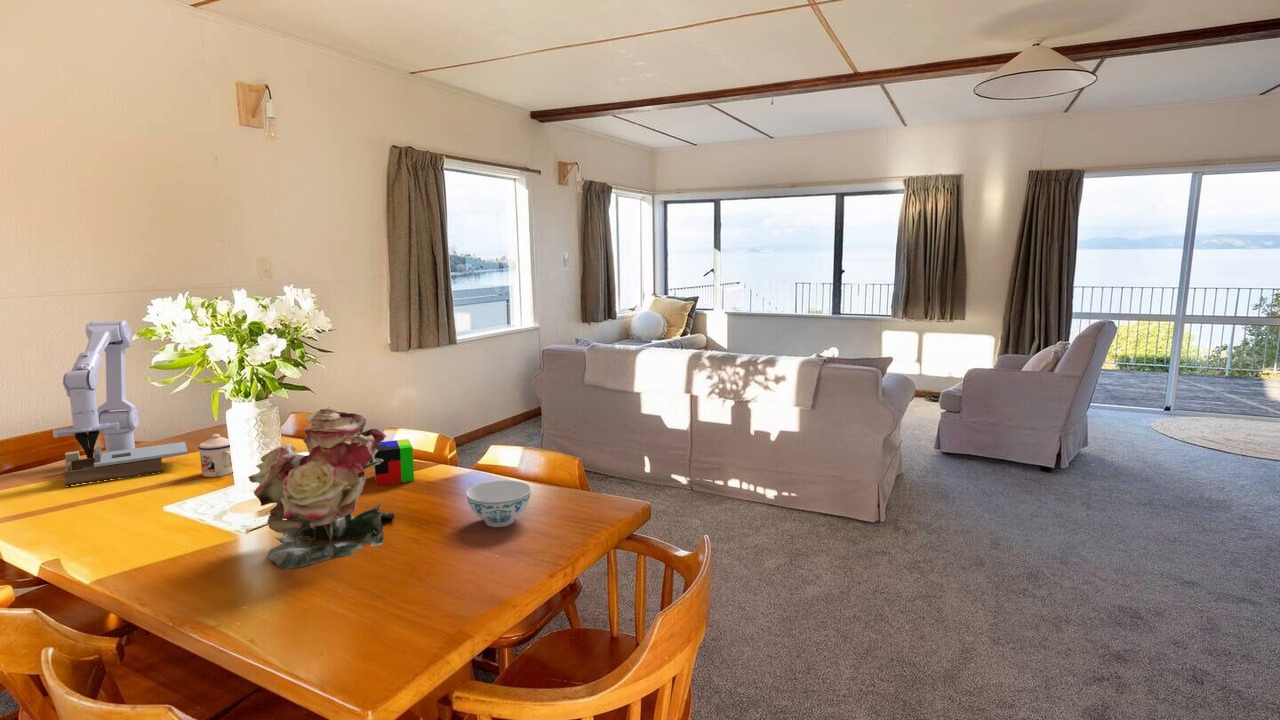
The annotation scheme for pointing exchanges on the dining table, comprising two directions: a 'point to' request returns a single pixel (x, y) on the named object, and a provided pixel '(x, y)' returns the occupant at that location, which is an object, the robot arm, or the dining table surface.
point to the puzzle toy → (394, 462)
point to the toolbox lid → (138, 454)
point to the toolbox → (108, 470)
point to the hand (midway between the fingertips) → (90, 457)
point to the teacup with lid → (215, 457)
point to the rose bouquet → (321, 490)
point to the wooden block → (72, 456)
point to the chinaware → (498, 501)
